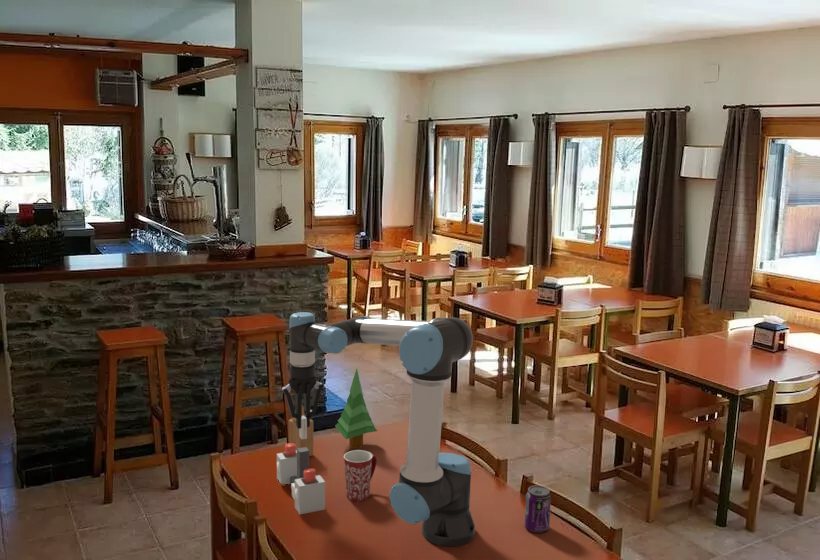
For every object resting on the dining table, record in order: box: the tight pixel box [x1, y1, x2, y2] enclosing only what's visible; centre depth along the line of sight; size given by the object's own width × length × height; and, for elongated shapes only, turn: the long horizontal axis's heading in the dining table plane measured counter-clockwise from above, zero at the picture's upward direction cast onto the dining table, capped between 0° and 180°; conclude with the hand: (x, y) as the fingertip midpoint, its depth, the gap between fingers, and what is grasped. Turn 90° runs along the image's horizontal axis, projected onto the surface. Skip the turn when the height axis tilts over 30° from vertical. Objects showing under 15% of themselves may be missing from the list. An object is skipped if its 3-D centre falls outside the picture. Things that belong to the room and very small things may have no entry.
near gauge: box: [304, 467, 317, 483], centre depth 221 cm, size 4×4×3 cm
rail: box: [289, 476, 297, 485], centre depth 232 cm, size 16×2×2 cm, turn 25°
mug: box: [343, 449, 378, 502], centre depth 232 cm, size 13×9×14 cm
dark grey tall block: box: [290, 447, 310, 501], centre depth 228 cm, size 6×6×16 cm
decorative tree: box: [334, 367, 378, 449], centre depth 267 cm, size 14×16×30 cm
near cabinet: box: [294, 474, 326, 515], centre depth 222 cm, size 5×8×9 cm, turn 115°
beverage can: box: [524, 485, 552, 533], centre depth 213 cm, size 7×7×12 cm
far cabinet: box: [276, 450, 297, 485], centre depth 241 cm, size 5×8×9 cm, turn 115°
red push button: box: [284, 442, 296, 456], centre depth 239 cm, size 4×4×3 cm
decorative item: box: [288, 404, 314, 457], centre depth 259 cm, size 7×7×20 cm
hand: (303, 437), depth 225 cm, fingers closed
